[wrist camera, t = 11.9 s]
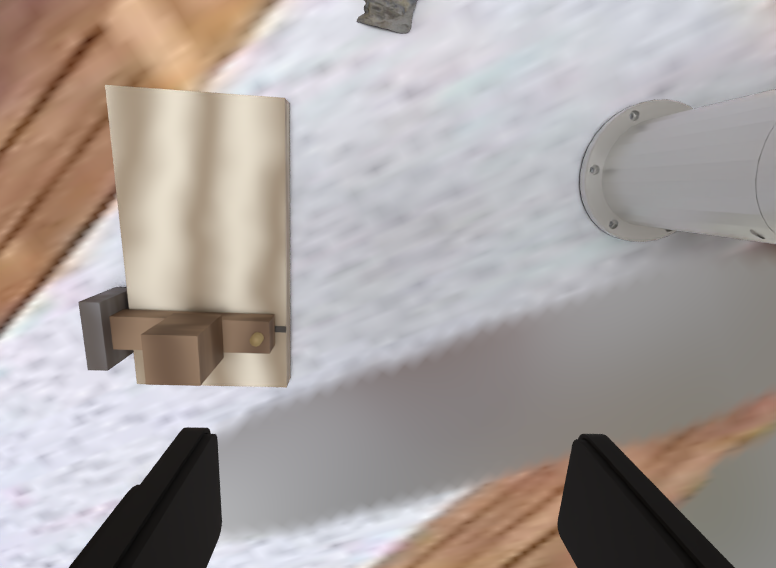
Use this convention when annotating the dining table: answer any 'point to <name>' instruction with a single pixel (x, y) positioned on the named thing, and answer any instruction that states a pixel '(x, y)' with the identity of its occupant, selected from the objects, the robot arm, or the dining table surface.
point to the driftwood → (389, 14)
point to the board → (206, 213)
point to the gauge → (168, 338)
